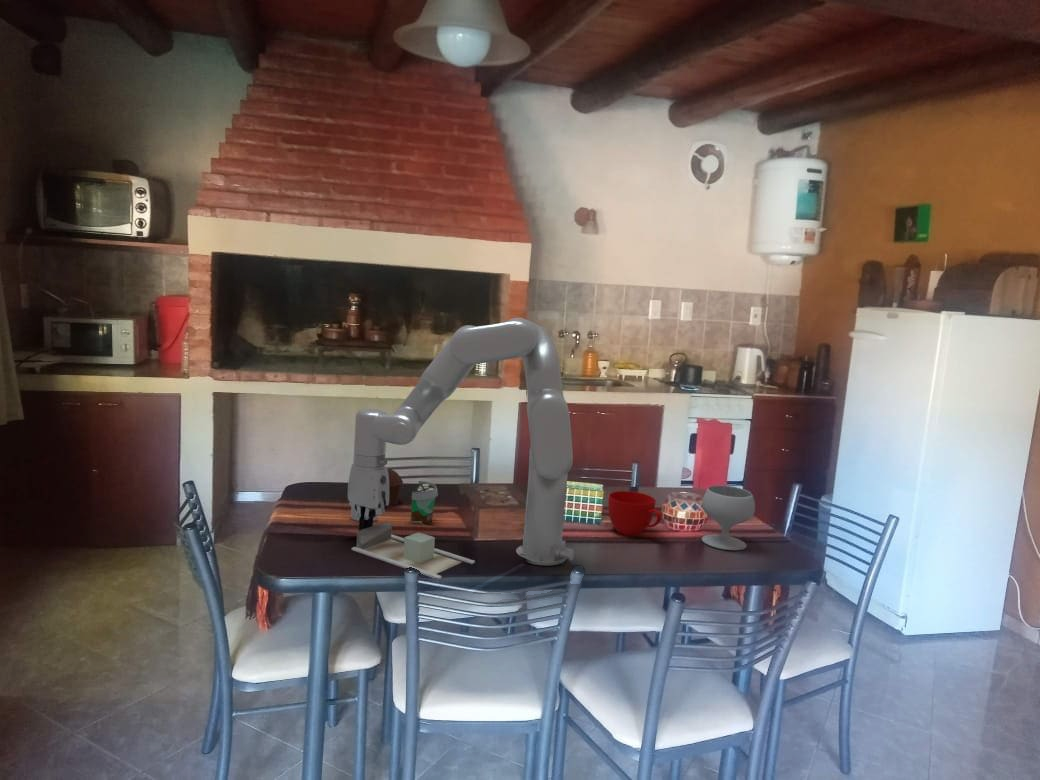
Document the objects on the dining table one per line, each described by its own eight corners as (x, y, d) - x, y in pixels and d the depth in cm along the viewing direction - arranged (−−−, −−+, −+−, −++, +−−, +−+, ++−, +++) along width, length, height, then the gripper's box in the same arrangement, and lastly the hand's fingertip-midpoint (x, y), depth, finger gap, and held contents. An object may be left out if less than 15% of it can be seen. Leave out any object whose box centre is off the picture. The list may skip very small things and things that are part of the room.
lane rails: (474, 567, 179) (475, 560, 178) (437, 584, 167) (438, 577, 167) (390, 540, 192) (391, 534, 192) (351, 554, 181) (351, 548, 180)
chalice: (750, 540, 215) (757, 489, 213) (749, 556, 202) (756, 501, 200) (699, 532, 219) (705, 481, 217) (695, 547, 206) (701, 493, 204)
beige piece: (461, 566, 178) (463, 545, 178) (435, 578, 170) (436, 556, 169) (384, 541, 191) (385, 521, 190) (356, 551, 182) (357, 531, 182)
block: (433, 557, 179) (434, 537, 179) (419, 563, 175) (421, 542, 174) (417, 552, 182) (418, 532, 181) (403, 558, 178) (404, 537, 177)
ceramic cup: (641, 547, 202) (645, 510, 200) (595, 528, 215) (599, 494, 213) (672, 539, 210) (676, 504, 209) (627, 522, 223) (630, 488, 222)
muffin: (403, 508, 219) (405, 474, 217) (364, 509, 216) (366, 474, 214) (399, 496, 230) (401, 464, 229) (361, 496, 227) (363, 464, 226)
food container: (432, 530, 202) (435, 494, 201) (409, 528, 202) (411, 492, 201) (438, 516, 214) (441, 481, 213) (417, 514, 214) (419, 480, 213)
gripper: (403, 463, 184) (398, 537, 186) (357, 452, 192) (354, 522, 194) (381, 468, 178) (377, 544, 180) (335, 456, 185) (332, 529, 188)
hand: (365, 533), depth 187 cm, fingers closed
